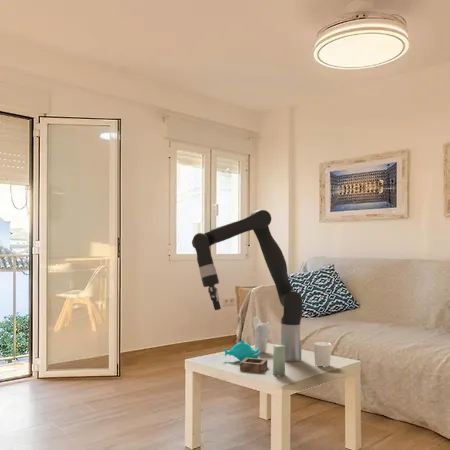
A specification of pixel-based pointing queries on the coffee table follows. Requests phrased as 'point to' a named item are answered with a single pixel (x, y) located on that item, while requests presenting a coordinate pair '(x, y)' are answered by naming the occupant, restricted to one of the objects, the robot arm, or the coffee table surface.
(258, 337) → the shell sculpture
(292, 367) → the coffee table surface
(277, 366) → the post
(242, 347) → the toy shark
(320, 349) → the white cup
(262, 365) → the socket base
